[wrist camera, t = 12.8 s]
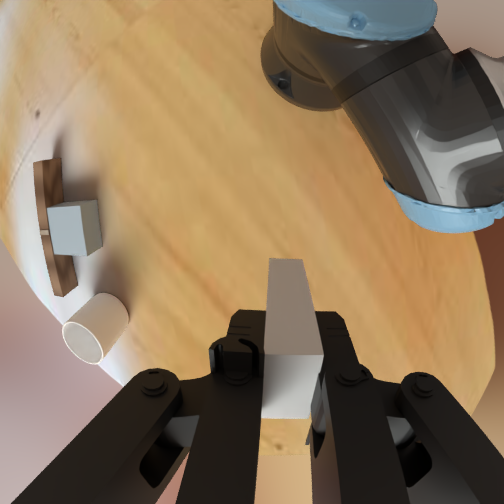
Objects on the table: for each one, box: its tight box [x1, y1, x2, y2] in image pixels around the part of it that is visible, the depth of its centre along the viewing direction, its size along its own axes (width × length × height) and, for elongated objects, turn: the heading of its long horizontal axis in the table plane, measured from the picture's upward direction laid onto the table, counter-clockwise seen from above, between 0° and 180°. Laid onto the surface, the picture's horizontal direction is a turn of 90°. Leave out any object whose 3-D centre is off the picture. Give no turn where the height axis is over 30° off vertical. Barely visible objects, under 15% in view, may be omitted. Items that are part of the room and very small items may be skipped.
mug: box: [62, 293, 129, 364], centre depth 42 cm, size 9×12×11 cm
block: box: [47, 200, 103, 256], centre depth 39 cm, size 8×8×5 cm
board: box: [33, 158, 78, 297], centre depth 39 cm, size 24×2×5 cm, turn 179°
